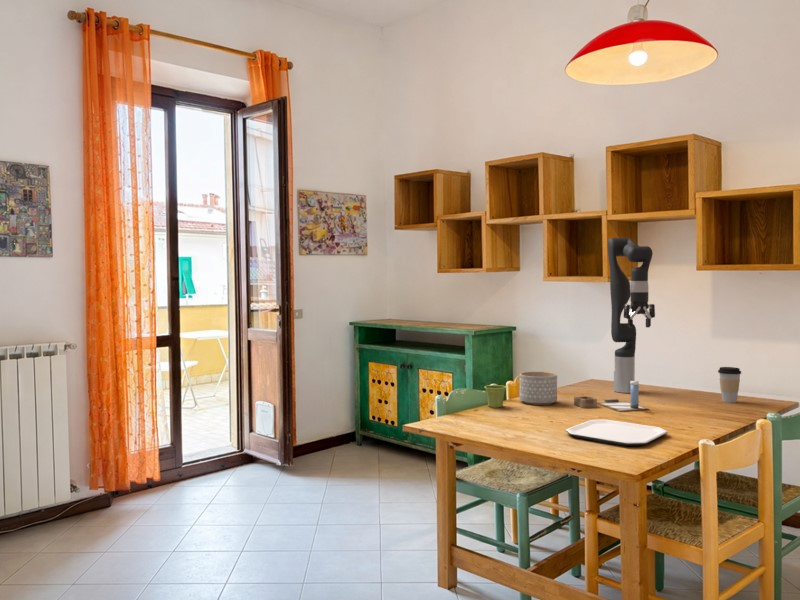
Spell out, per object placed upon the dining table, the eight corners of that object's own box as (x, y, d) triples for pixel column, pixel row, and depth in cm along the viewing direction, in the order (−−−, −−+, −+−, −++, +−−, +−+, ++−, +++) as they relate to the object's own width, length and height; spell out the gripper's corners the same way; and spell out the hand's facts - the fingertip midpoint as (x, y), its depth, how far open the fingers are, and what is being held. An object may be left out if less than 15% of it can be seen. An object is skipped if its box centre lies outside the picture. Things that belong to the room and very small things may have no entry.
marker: (628, 407, 277) (628, 381, 277) (635, 407, 278) (635, 380, 278) (633, 408, 274) (633, 382, 274) (640, 408, 275) (640, 381, 275)
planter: (561, 405, 285) (561, 376, 285) (523, 406, 285) (523, 377, 284) (552, 398, 301) (552, 371, 301) (516, 399, 301) (516, 371, 301)
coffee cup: (744, 404, 286) (744, 369, 286) (721, 403, 288) (721, 369, 287) (736, 400, 296) (737, 366, 295) (714, 399, 297) (714, 366, 297)
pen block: (574, 404, 287) (574, 396, 287) (588, 404, 288) (588, 396, 288) (582, 407, 280) (582, 399, 280) (596, 407, 282) (596, 398, 281)
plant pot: (482, 408, 281) (482, 387, 281) (486, 404, 290) (486, 384, 290) (504, 409, 278) (504, 388, 278) (507, 405, 287) (507, 385, 287)
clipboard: (596, 403, 289) (596, 400, 289) (624, 402, 292) (624, 398, 292) (619, 411, 271) (619, 408, 271) (649, 410, 274) (649, 406, 274)
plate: (672, 435, 233) (672, 428, 233) (640, 451, 211) (640, 444, 211) (595, 423, 252) (595, 417, 252) (559, 437, 230) (559, 431, 230)
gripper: (648, 290, 297) (648, 326, 298) (620, 291, 294) (620, 327, 294) (658, 291, 290) (658, 327, 290) (630, 291, 287) (629, 328, 287)
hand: (639, 327), depth 292 cm, fingers open, 8 cm apart
